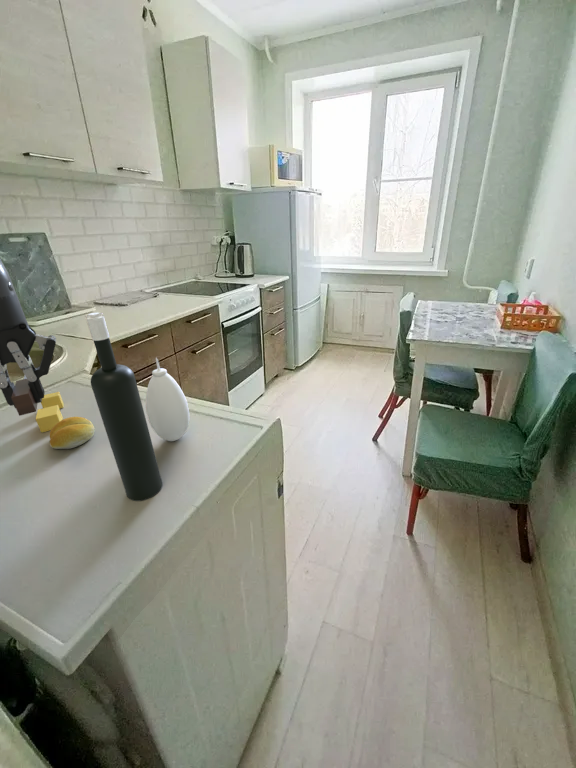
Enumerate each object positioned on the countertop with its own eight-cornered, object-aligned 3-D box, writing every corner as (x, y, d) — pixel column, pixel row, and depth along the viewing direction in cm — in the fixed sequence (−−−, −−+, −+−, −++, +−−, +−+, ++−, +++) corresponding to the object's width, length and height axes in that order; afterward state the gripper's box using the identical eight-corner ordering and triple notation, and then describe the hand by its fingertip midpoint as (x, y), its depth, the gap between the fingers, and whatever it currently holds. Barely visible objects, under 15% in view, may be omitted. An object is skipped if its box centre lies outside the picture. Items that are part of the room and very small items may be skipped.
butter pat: (63, 407, 87) (58, 395, 86) (44, 412, 86) (39, 399, 84) (63, 403, 89) (59, 391, 88) (45, 408, 88) (40, 395, 86)
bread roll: (52, 456, 69) (45, 439, 67) (51, 435, 76) (45, 419, 74) (98, 441, 73) (92, 425, 71) (94, 423, 80) (88, 407, 78)
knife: (36, 411, 54) (28, 393, 53) (19, 415, 53) (10, 397, 52) (41, 376, 67) (35, 360, 66) (28, 379, 66) (21, 363, 65)
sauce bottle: (181, 424, 78) (165, 346, 70) (200, 437, 73) (185, 355, 65) (147, 439, 73) (126, 358, 65) (165, 454, 68) (144, 369, 60)
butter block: (62, 427, 79) (56, 414, 77) (41, 432, 77) (35, 419, 76) (62, 417, 83) (57, 404, 81) (42, 422, 81) (37, 409, 80)
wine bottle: (128, 506, 56) (68, 322, 43) (124, 484, 61) (69, 312, 48) (165, 492, 58) (119, 314, 45) (159, 472, 63) (115, 306, 50)
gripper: (42, 284, 55) (77, 384, 62) (-74, 297, 49) (-21, 406, 56) (39, 291, 49) (78, 400, 56) (-94, 307, 43) (-31, 427, 51)
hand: (28, 403), depth 56 cm, fingers closed on knife, 2 cm apart
